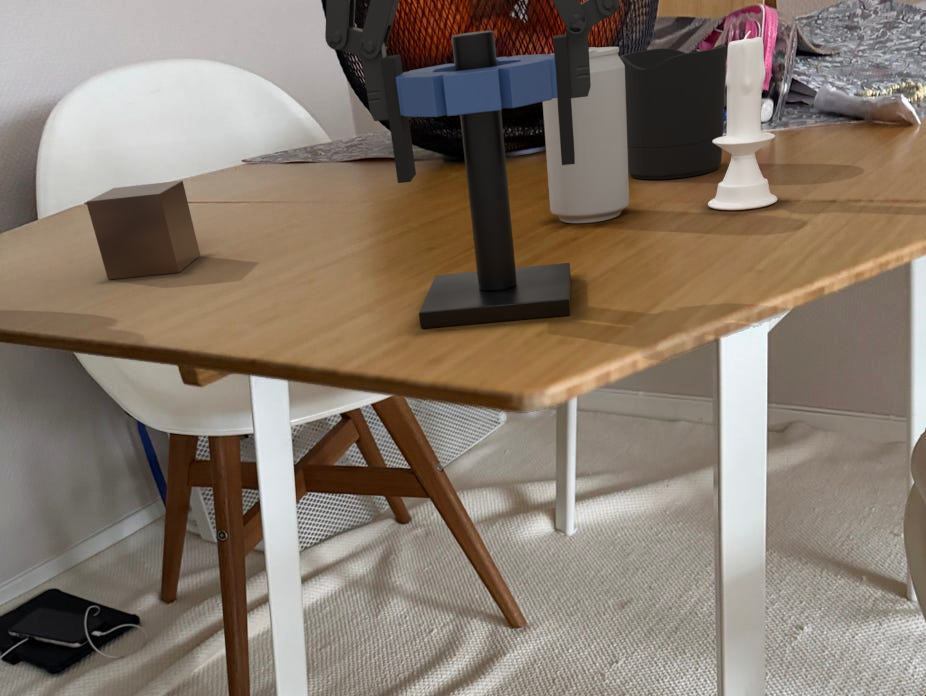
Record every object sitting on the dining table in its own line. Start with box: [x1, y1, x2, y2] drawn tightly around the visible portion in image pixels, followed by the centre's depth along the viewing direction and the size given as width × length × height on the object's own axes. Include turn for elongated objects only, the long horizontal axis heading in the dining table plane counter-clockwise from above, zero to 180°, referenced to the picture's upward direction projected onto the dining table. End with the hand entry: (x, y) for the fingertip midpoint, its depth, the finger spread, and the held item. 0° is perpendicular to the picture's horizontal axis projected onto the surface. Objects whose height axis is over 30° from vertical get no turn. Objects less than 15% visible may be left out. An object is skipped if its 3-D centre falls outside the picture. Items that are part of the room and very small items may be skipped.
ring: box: [396, 53, 558, 118], centre depth 63 cm, size 9×9×2 cm
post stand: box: [418, 30, 572, 330], centre depth 65 cm, size 9×9×15 cm
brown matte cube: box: [85, 180, 201, 281], centre depth 89 cm, size 6×6×6 cm
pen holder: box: [618, 43, 728, 180], centre depth 99 cm, size 9×9×10 cm
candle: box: [707, 30, 778, 211], centre depth 83 cm, size 5×5×12 cm
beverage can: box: [542, 46, 630, 224], centre depth 86 cm, size 6×6×12 cm
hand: (487, 169), depth 65 cm, fingers closed on ring, 9 cm apart
